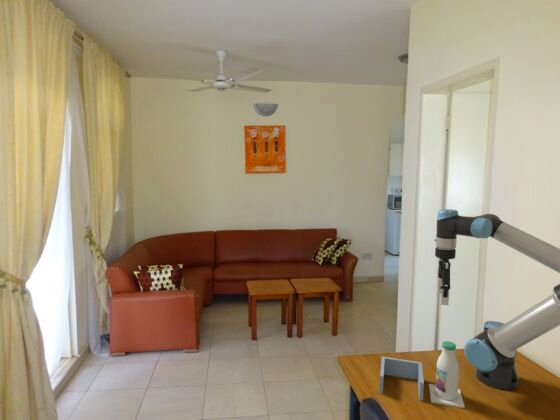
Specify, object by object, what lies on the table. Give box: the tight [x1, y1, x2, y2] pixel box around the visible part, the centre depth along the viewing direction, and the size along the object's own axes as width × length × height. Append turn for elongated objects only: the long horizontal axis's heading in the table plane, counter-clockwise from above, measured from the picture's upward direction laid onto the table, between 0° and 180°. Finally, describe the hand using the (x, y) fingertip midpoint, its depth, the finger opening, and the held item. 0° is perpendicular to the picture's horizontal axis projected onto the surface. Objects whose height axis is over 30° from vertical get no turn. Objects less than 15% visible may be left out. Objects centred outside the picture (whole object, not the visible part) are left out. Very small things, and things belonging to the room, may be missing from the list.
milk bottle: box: [434, 340, 460, 400], centre depth 139 cm, size 8×8×20 cm
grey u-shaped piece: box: [378, 356, 425, 402], centre depth 147 cm, size 15×15×7 cm
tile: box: [428, 383, 465, 409], centre depth 141 cm, size 11×11×1 cm
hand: (442, 299), depth 153 cm, fingers open, 13 cm apart
